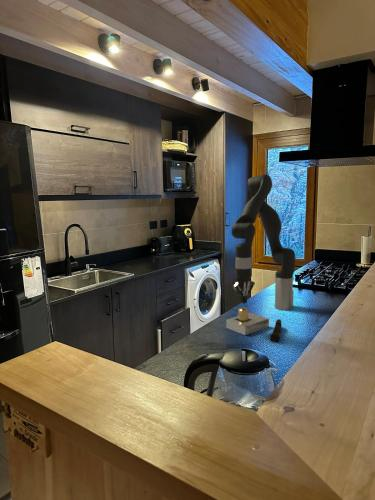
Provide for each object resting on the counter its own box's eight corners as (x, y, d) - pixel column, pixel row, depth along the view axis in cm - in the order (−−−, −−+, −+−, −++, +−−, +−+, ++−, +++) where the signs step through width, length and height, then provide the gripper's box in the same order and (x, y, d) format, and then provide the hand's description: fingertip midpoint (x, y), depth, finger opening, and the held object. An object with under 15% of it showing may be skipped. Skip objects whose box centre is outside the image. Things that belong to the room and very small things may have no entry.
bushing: (243, 325, 167) (243, 306, 166) (250, 327, 163) (250, 309, 162) (236, 327, 164) (236, 308, 163) (243, 330, 160) (243, 311, 159)
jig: (249, 320, 173) (249, 312, 173) (268, 326, 164) (268, 318, 163) (226, 327, 164) (226, 319, 163) (245, 335, 154) (245, 326, 154)
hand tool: (279, 343, 146) (279, 333, 145) (269, 342, 147) (270, 331, 146) (285, 328, 163) (285, 318, 162) (276, 327, 164) (277, 317, 164)
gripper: (247, 263, 166) (247, 298, 169) (227, 267, 158) (227, 304, 161) (259, 265, 160) (259, 302, 163) (239, 269, 152) (239, 308, 155)
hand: (243, 303), depth 162 cm, fingers closed
